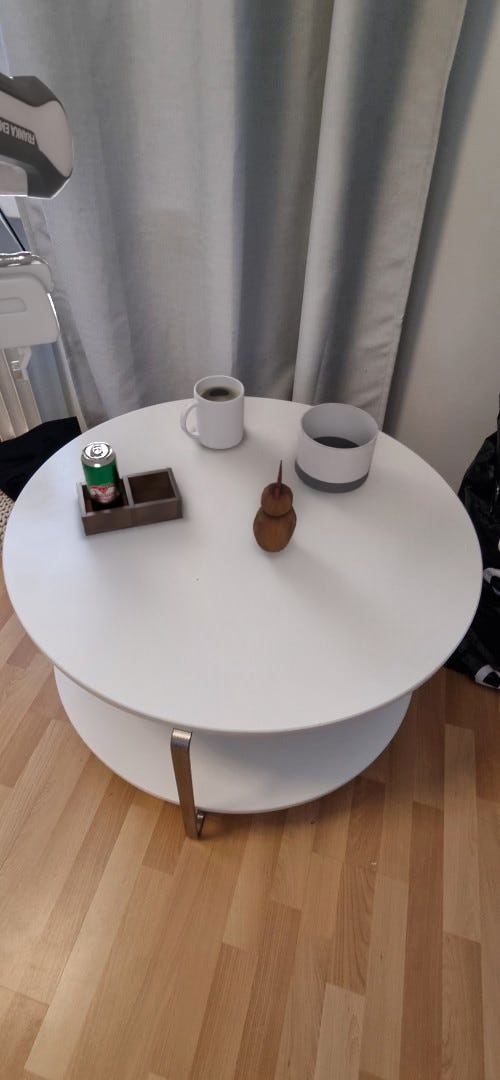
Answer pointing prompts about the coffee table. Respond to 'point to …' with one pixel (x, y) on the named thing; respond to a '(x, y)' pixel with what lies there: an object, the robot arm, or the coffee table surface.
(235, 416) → the mug
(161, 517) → the holder
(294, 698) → the coffee table surface
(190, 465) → the coffee table surface
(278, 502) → the wooden figurine
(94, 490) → the soda can
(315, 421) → the planter
